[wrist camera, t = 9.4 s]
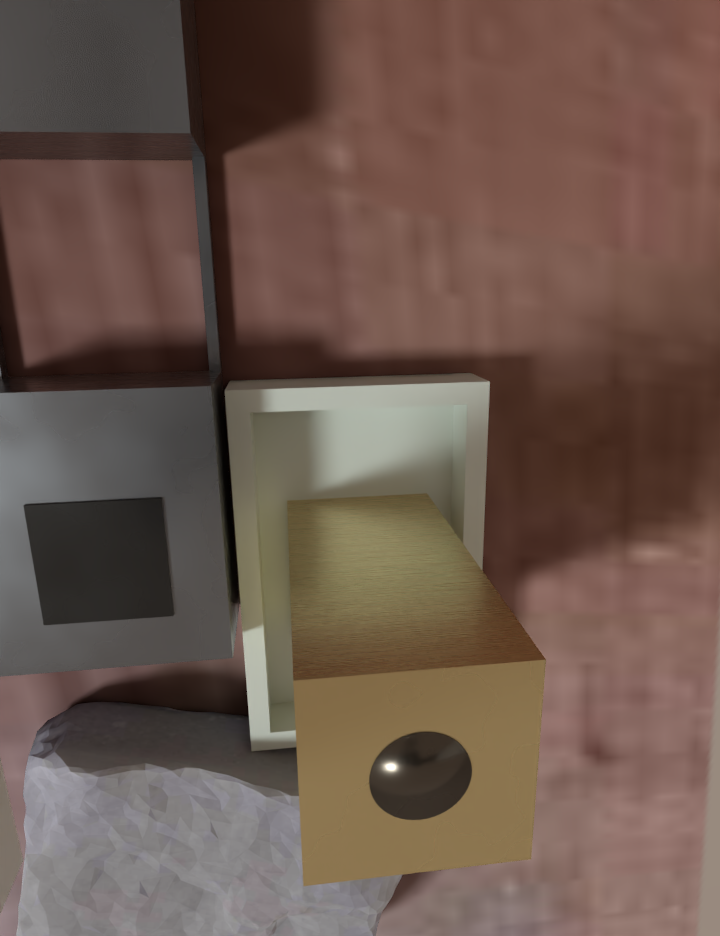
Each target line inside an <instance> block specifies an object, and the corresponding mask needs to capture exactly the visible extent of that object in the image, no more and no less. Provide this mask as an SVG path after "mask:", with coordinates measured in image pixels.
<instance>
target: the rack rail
mask: <svg viewBox="0 0 720 936" xmlns="http://www.w3.org/2000/svg"><path fill="white" fill-rule="evenodd" d="M0 159H69V160H192V162H193V174H194V186H195V199H196V211H197V224H198V236H199V248H200V261H201V273H202V286H203V298H204V310H205V323H206V335H207V348H208V360H209V371H183V372H150V373H118V374H85V375H52V376H20V377H8V372H7V366H6V360H5V354H4V348H3V342H2V336H1V331H0V676H13V675H25V674H38V673H50V672H63V671H75V670H88V669H100V668H113V667H125V666H138V665H150V664H163V663H175V662H188V661H200V660H213V659H225V658H233V651H234V644H235V636H236V628H237V620H238V612H239V592H238V578H237V565H236V552H235V538H234V525H233V512H232V498H231V485H230V472H229V459H228V445H227V432H226V419H225V405H224V392H223V379H222V365H221V352H220V339H219V326H218V312H217V299H216V286H215V272H214V259H213V246H212V232H211V219H210V206H209V193H208V179H207V166H206V153H205V139H204V126H203V113H202V99H201V86H200V73H199V60H198V46H197V33H196V20H195V6H194V0H0Z"/></svg>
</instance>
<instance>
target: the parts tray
mask: <svg viewBox="0 0 720 936" xmlns="http://www.w3.org/2000/svg"><path fill="white" fill-rule="evenodd" d="M489 392H490V381H488V380H485V379H483V378H481V377H479V376H477V375H474V374H472V373H453V374H422V375H391V376H360V377H329V378H299V379H268V380H237V381H229V383H228V385H227V387H226V389H225V403H226V416H227V430H228V443H229V457H230V470H231V483H232V497H233V510H234V524H235V537H236V550H237V564H238V577H239V591H240V604H241V617H242V631H243V644H244V657H245V671H246V684H247V698H248V711H249V724H250V738H251V751H261V750H271V749H282V748H292V747H296V727H295V707H294V687H293V660H292V630H291V600H290V570H289V541H288V511H287V501H289V500H309V499H328V498H347V497H366V496H385V495H404V494H424V493H427V494H428V495H429V497H430V498H431V500H432V501H433V502H434V504H435V505H436V507H437V508H438V509H439V511H440V512H441V514H442V515H443V516H444V518H445V519H446V521H447V522H448V523H449V525H450V526H451V528H452V529H453V530H454V532H455V533H456V535H457V536H458V537H459V539H460V540H461V542H462V543H463V544H464V546H465V547H466V549H467V550H468V551H469V553H470V554H471V556H472V557H473V558H474V560H475V561H476V563H477V564H478V565H479V567H480V568H481V570H482V567H483V542H484V517H485V492H486V467H487V442H488V417H489Z"/></svg>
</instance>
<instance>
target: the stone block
mask: <svg viewBox="0 0 720 936" xmlns="http://www.w3.org/2000/svg"><path fill="white" fill-rule="evenodd" d="M23 797H24V801H25V804H26V815H25V820H24V831H25V837H26V850H25V861H24V869H23V878H22V889H21V898H20V902H19V905H18V914H19V918H18V928H17V933H16V936H376V931H377V926H378V923H379V919H380V916H381V913H382V911H383V909H384V908H385V907H386V905H387V904H388V902H389V901H390V899H391V898H392V896H393V893H394V891H395V889H396V887H397V885H398V883H399V881H400V879H401V877H402V875H403V874H402V875H394V876H386V877H377V878H369V879H361V880H352V881H344V882H335V883H327V884H319V885H310V886H303V868H302V848H301V828H300V808H299V787H298V767H297V747H292V748H282V749H271V750H261V751H251V738H250V724H249V716H242V715H230V714H223V713H217V712H190V711H180V710H175V709H172V708H169V707H159V706H148V705H138V704H129V703H123V702H91V703H83V704H77V705H75V706H73V707H72V708H70V709H68V710H66V711H64V712H63V713H61V714H59V715H57V716H55V717H53V718H52V719H50V720H48V721H47V722H46V723H45V724H44V725H43V726H42V727H41V728H40V729H39V730H38V731H37V734H36V738H35V741H34V743H33V746H32V749H31V751H30V754H29V758H28V762H27V767H26V772H25V782H24V791H23Z"/></svg>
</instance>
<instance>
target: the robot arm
mask: <svg viewBox="0 0 720 936" xmlns="http://www.w3.org/2000/svg"><path fill="white" fill-rule="evenodd" d="M22 862H23V857H22V853H21V848H20V844H19V839H18V835H17V831H16V826H15V822H14V817H13V813H12V808H11V804H10V800H9V795H8V791H7V786H6V782H5V777H4V773H3V768H2V764H1V760H0V913H1V911H2V909H3V906H4V904H5V902H6V899H7V897H8V894H9V892H10V890H11V887H12V885H13V883H14V880H15V878H16V876H17V873H18V871H19V869H20V866H21V864H22Z"/></svg>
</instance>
